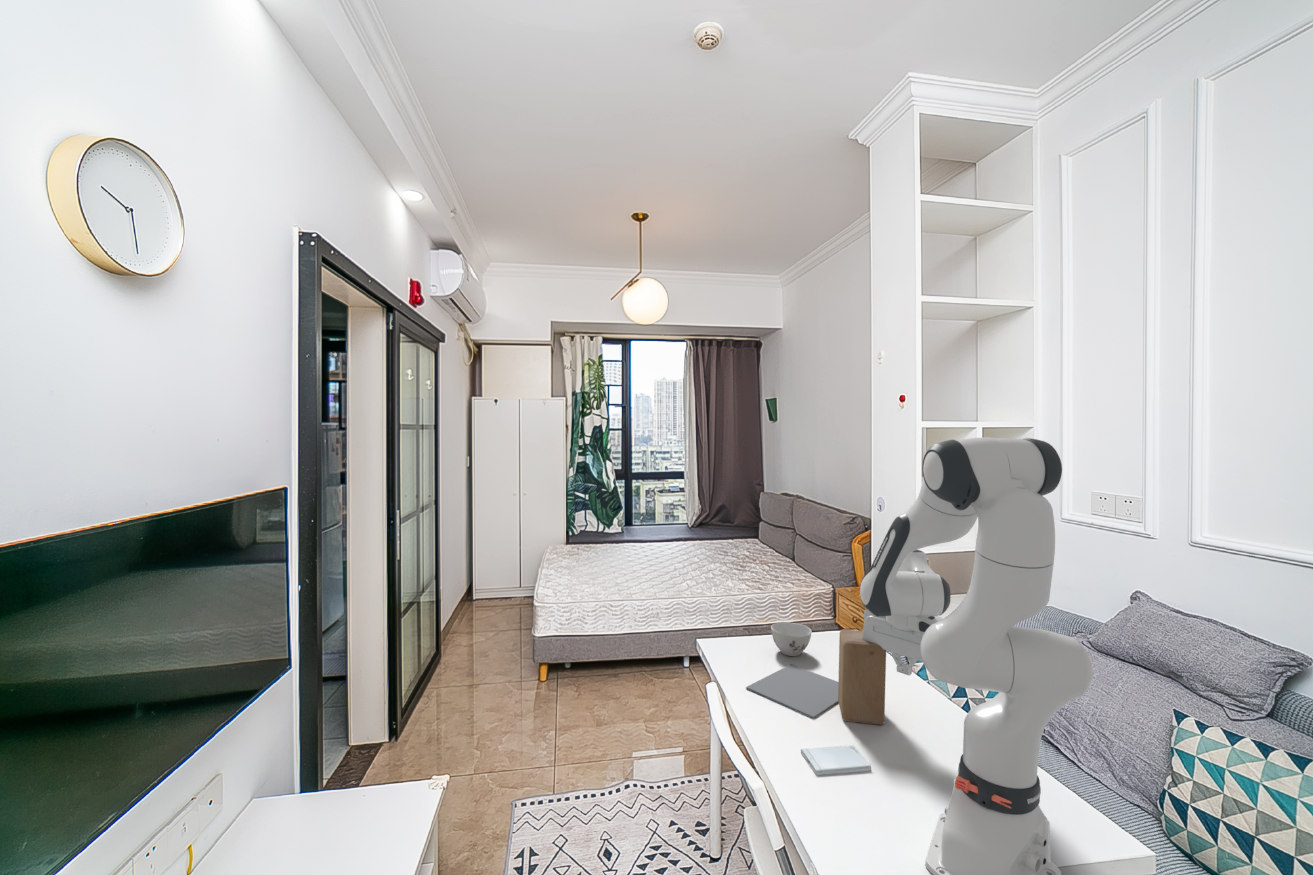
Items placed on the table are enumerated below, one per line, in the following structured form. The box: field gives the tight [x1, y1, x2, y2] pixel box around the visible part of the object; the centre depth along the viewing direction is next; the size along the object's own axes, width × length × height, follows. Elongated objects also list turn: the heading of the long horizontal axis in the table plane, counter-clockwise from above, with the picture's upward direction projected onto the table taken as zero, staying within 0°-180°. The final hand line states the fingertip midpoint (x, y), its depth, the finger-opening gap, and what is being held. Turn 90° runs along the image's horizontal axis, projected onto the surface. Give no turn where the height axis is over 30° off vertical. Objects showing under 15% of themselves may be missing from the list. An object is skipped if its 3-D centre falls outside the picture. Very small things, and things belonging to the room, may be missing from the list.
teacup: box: [770, 621, 812, 657], centre depth 181 cm, size 15×12×8 cm
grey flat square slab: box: [745, 663, 839, 719], centre depth 156 cm, size 22×21×1 cm
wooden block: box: [838, 628, 887, 726], centre depth 143 cm, size 10×10×20 cm
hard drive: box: [800, 744, 872, 776], centre depth 123 cm, size 2×8×12 cm
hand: (904, 672), depth 135 cm, fingers closed
